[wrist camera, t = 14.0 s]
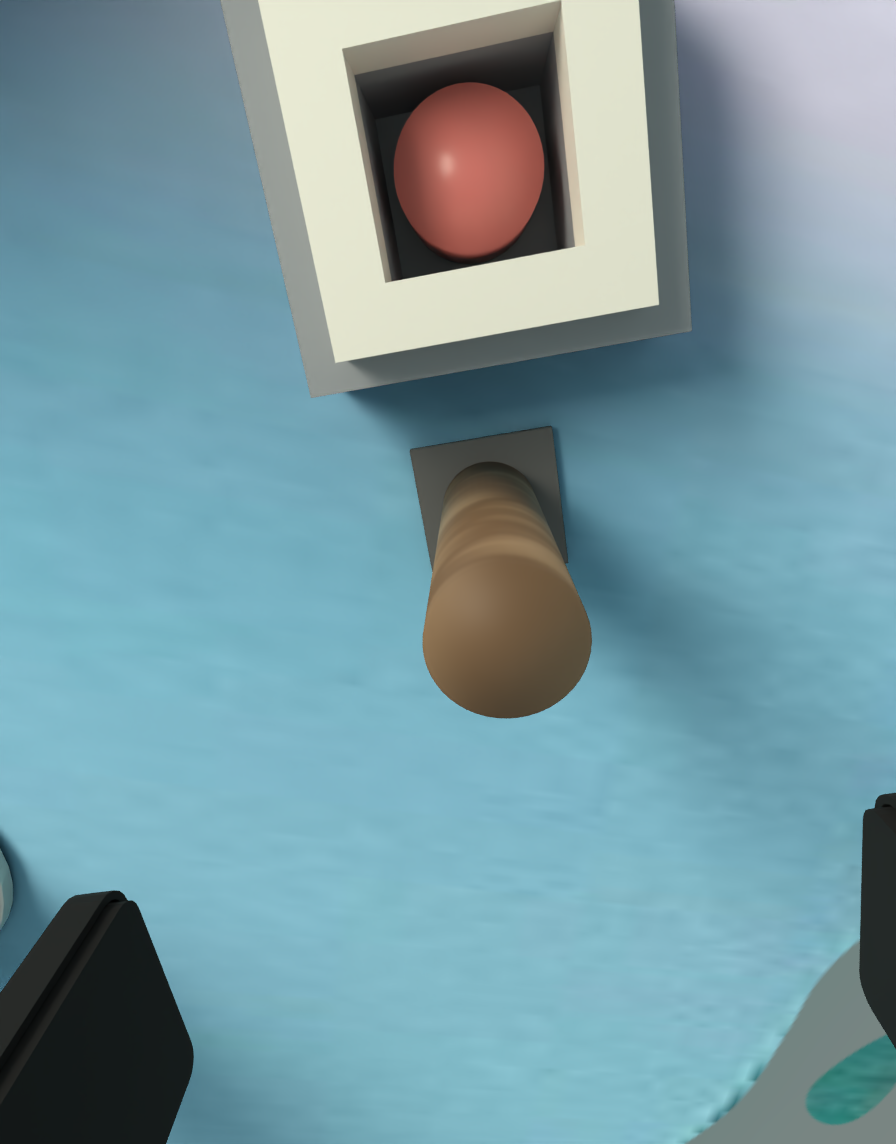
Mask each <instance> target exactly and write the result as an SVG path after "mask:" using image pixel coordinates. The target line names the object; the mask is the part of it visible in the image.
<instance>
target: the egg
mask: <svg viewBox="0 0 896 1144" xmlns="http://www.w3.org/2000/svg"><path fill="white" fill-rule="evenodd" d="M543 179H544V154H543V148H542V143H541V140H540V137H539V134H538V131H537V129H536V127H535V124H534V123H533V121H532V119H531V117H530V116H529V114H528V113H527V112H526V110H525V109H524V108H523V107H522V105H521V104H519V103H518V102H517V101H516V100H515V99H514V98H513V97H511V96H510V95H509V94H507V93H506V92H504V91H502V90H500V89H498V88H496V87H493V86H490V85H487V84H482V83H477V82H465V83H458V84H454V85H450V86H447V87H444V88H442V89H440V90H438V91H436V92H435V93H433V94H432V95H430V96H428V97H427V98H426V99H425V100H424V101H423V102H421V103H420V104H419V105H418V107H417V108H416V109H415V110H414V111H413V112H412V114H411V115H410V117H409V118H408V120H407V121H406V123H405V125H404V127H403V129H402V131H401V134H400V137H399V139H398V142H397V147H396V151H395V158H394V181H395V188H396V192H397V196H398V199H399V202H400V205H401V207H402V209H403V211H404V213H405V215H406V217H407V219H408V220H409V222H410V224H411V226H412V227H413V229H414V231H415V232H416V234H417V235H418V237H419V238H420V240H421V241H422V242H423V243H424V244H425V245H426V246H427V247H428V248H429V249H430V250H431V251H433V252H434V253H436V254H437V255H438V256H440V257H442V258H444V259H446V260H449V261H452V262H456V263H462V264H475V263H481V262H485V261H488V260H491V259H493V258H496V257H497V256H499V255H501V254H502V253H504V252H505V251H506V250H508V249H509V248H510V247H511V246H512V245H513V244H514V243H515V242H516V241H517V240H518V238H519V237H520V236H521V234H522V233H523V231H524V229H525V228H526V226H527V224H528V222H529V220H530V217H531V215H532V213H533V211H534V209H535V206H536V204H537V202H538V199H539V196H540V193H541V190H542V184H543Z"/></svg>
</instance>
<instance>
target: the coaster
mask: <svg viewBox="0 0 896 1144" xmlns="http://www.w3.org/2000/svg"><path fill="white" fill-rule="evenodd" d="M410 455H411V460H412V466H413V471H414V476H415V482H416V487H417V492H418V498H419V503H420V508H421V514H422V519H423V524H424V530H425V535H426V540H427V546H428V551H429V556H430V562H431V567H432V572H433V567H434V560H435V554H436V547H437V541H438V534H439V528H440V521H441V515H442V508H443V502H444V496H445V493H446V490H447V488H448V486H449V484H450V483H451V481H452V480H453V479H454V477H455V476H456V475H457V474H458V473H460V472H461V471H462V470H464V469H465V468H467V467H469V466H471V465H473V464H476V463H480V462H488V461H491V462H500V463H504V464H507V465H509V466H511V467H513V468H515V469H516V470H518V471H519V472H520V473H522V474H523V475H524V477H525V478H526V479H527V480H528V482H529V483H530V485H531V487H532V489H533V491H534V493H535V496H536V498H537V500H538V503H539V505H540V507H541V510H542V512H543V514H544V517H545V519H546V521H547V523H548V526H549V528H550V530H551V533H552V535H553V537H554V540H555V542H556V544H557V546H558V549H559V551H560V553H561V556H562V558H563V560H564V563H565V564H566V563H568V557H567V549H566V540H565V532H564V524H563V515H562V507H561V499H560V490H559V482H558V474H557V465H556V457H555V449H554V440H553V432H552V427H551V426H547V427H541V428H535V429H529V430H523V431H517V432H511V433H505V434H499V435H493V436H487V437H481V438H475V439H469V440H463V441H456V442H450V443H444V444H438V445H432V446H426V447H420V448H414V449H410Z"/></svg>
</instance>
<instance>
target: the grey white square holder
mask: <svg viewBox="0 0 896 1144" xmlns="http://www.w3.org/2000/svg"><path fill="white" fill-rule="evenodd" d="M220 1H221V6H222V10H223V14H224V19H225V23H226V28H227V32H228V36H229V41H230V45H231V49H232V54H233V58H234V63H235V67H236V71H237V76H238V80H239V85H240V89H241V93H242V98H243V102H244V106H245V111H246V115H247V120H248V124H249V128H250V133H251V137H252V141H253V146H254V150H255V155H256V159H257V163H258V168H259V172H260V177H261V181H262V185H263V190H264V194H265V198H266V203H267V207H268V212H269V216H270V220H271V225H272V229H273V234H274V238H275V242H276V247H277V251H278V255H279V260H280V264H281V269H282V273H283V277H284V282H285V286H286V290H287V295H288V299H289V304H290V308H291V312H292V317H293V321H294V326H295V330H296V334H297V339H298V343H299V347H300V352H301V356H302V361H303V365H304V369H305V374H306V378H307V382H308V387H309V391H310V396H311V398H313V397H319V396H325V395H330V394H336V393H342V392H348V391H353V390H359V389H365V388H370V387H376V386H382V385H387V384H393V383H399V382H405V381H410V380H416V379H422V378H427V377H433V376H439V375H444V374H450V373H456V372H461V371H467V370H473V369H479V368H484V367H490V366H496V365H501V364H507V363H513V362H518V361H524V360H530V359H535V358H541V357H547V356H553V355H558V354H564V353H570V352H575V351H581V350H587V349H592V348H598V347H604V346H610V345H615V344H621V343H627V342H632V341H638V340H644V339H649V338H655V337H661V336H666V335H672V334H678V333H684V332H689V331H692V325H691V306H690V287H689V268H688V250H687V231H686V212H685V193H684V174H683V156H682V137H681V118H680V99H679V80H678V61H677V43H676V24H675V5H674V0H220ZM465 82H477V83H482V84H487V85H490V86H493V87H496V88H498V89H500V90H502V91H504V92H506V93H507V94H509V95H510V96H511V97H513V98H514V99H515V100H516V101H517V102H518V103H519V104H521V105H522V107H523V108H524V109H525V110H526V112H527V113H528V114H529V116H530V117H531V119H532V121H533V123H534V124H535V127H536V129H537V131H538V134H539V137H540V140H541V143H542V148H543V154H544V179H543V184H542V190H541V193H540V196H539V199H538V202H537V204H536V206H535V209H534V211H533V213H532V215H531V217H530V220H529V222H528V224H527V226H526V228H525V229H524V231H523V233H522V234H521V236H520V237H519V238H518V240H517V241H516V242H515V243H514V244H513V245H512V246H511V247H510V248H509V249H508V250H506V251H505V252H504V253H502V254H501V255H499V256H497V257H496V258H493V259H491V260H488V261H485V262H481V263H475V264H462V263H456V262H452V261H449V260H446V259H444V258H442V257H440V256H438V255H437V254H436V253H434V252H433V251H431V250H430V249H429V248H428V247H427V246H426V245H425V244H424V243H423V242H422V241H421V240H420V238H419V237H418V235H417V234H416V232H415V231H414V229H413V227H412V226H411V224H410V222H409V220H408V219H407V217H406V215H405V213H404V211H403V209H402V207H401V205H400V202H399V199H398V196H397V192H396V188H395V181H394V158H395V151H396V147H397V142H398V139H399V137H400V134H401V131H402V129H403V127H404V125H405V123H406V121H407V120H408V118H409V117H410V115H411V114H412V112H413V111H414V110H415V109H416V108H417V107H418V105H419V104H420V103H421V102H423V101H424V100H425V99H426V98H427V97H428V96H430V95H432V94H433V93H435V92H436V91H438V90H440V89H442V88H444V87H447V86H450V85H454V84H458V83H465Z"/></svg>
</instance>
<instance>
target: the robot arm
mask: <svg viewBox="0 0 896 1144" xmlns="http://www.w3.org/2000/svg"><path fill="white" fill-rule="evenodd" d="M12 903H13V883H12V878H11V874H10V870H9V866H8V864H7V862H6V860H5V858H4V855H3V853H2V851H1V849H0V930H1V929H2V927H3V925H4V924H5V922H6V920H7V919H8V917H9V914H10V910H11V906H12ZM859 972H860V980H861V985H862V988H863V991H864V994H865V996H866V999H867V1001H868V1004H869V1005H870V1007H871V1009H872V1011H873V1013H874V1014H875V1016H876V1017H877V1019H878V1021H879V1022H880V1024H881V1026H882V1027H883V1029H884V1030H885V1032H886V1034H887V1035H888V1037H889V1039H890V1040H891V1042H892V1044H893V1045H894V1047H895V1048H896V793H891V794H883V795H880V796H879V797H878V798H877V800H876V803H875V808H874V809H868V810H866V811H865V813H864V816H863V840H862V883H861V926H860V969H859ZM193 1058H194V1055H193V1046H192V1043H191V1040H190V1037H189V1035H188V1032H187V1030H186V1027H185V1025H184V1022H183V1020H182V1017H181V1015H180V1012H179V1009H178V1007H177V1004H176V1002H175V999H174V997H173V994H172V992H171V989H170V986H169V984H168V981H167V979H166V976H165V974H164V971H163V969H162V966H161V963H160V961H159V958H158V956H157V953H156V951H155V948H154V946H153V943H152V940H151V938H150V935H149V933H148V930H147V928H146V925H145V923H144V920H143V918H142V915H141V912H140V910H139V908H138V906H137V904H136V903H135V902H134V901H128V900H127V899H126V897H125V895H124V894H123V893H121V892H120V891H106V892H98V893H90V894H82V895H75V896H73V897H71V898H69V899H68V900H67V901H66V902H65V904H64V905H63V906H62V907H61V909H60V910H59V911H58V913H57V914H56V916H55V917H54V918H53V920H52V921H51V923H50V924H49V925H48V927H47V928H46V930H45V931H44V932H43V934H42V935H41V937H40V938H39V940H38V941H37V942H36V944H35V945H34V947H33V948H32V949H31V951H30V952H29V954H28V955H27V956H26V958H25V959H24V961H23V962H22V963H21V965H20V966H19V968H18V969H17V970H16V972H15V973H14V975H13V976H12V977H11V979H10V980H9V982H8V983H7V984H6V986H5V987H4V989H3V990H2V991H1V993H0V1144H166V1142H167V1140H168V1137H169V1134H170V1131H171V1129H172V1126H173V1123H174V1121H175V1118H176V1115H177V1113H178V1110H179V1107H180V1105H181V1102H182V1099H183V1096H184V1094H185V1091H186V1088H187V1086H188V1083H189V1080H190V1077H191V1074H192V1068H193Z"/></svg>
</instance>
